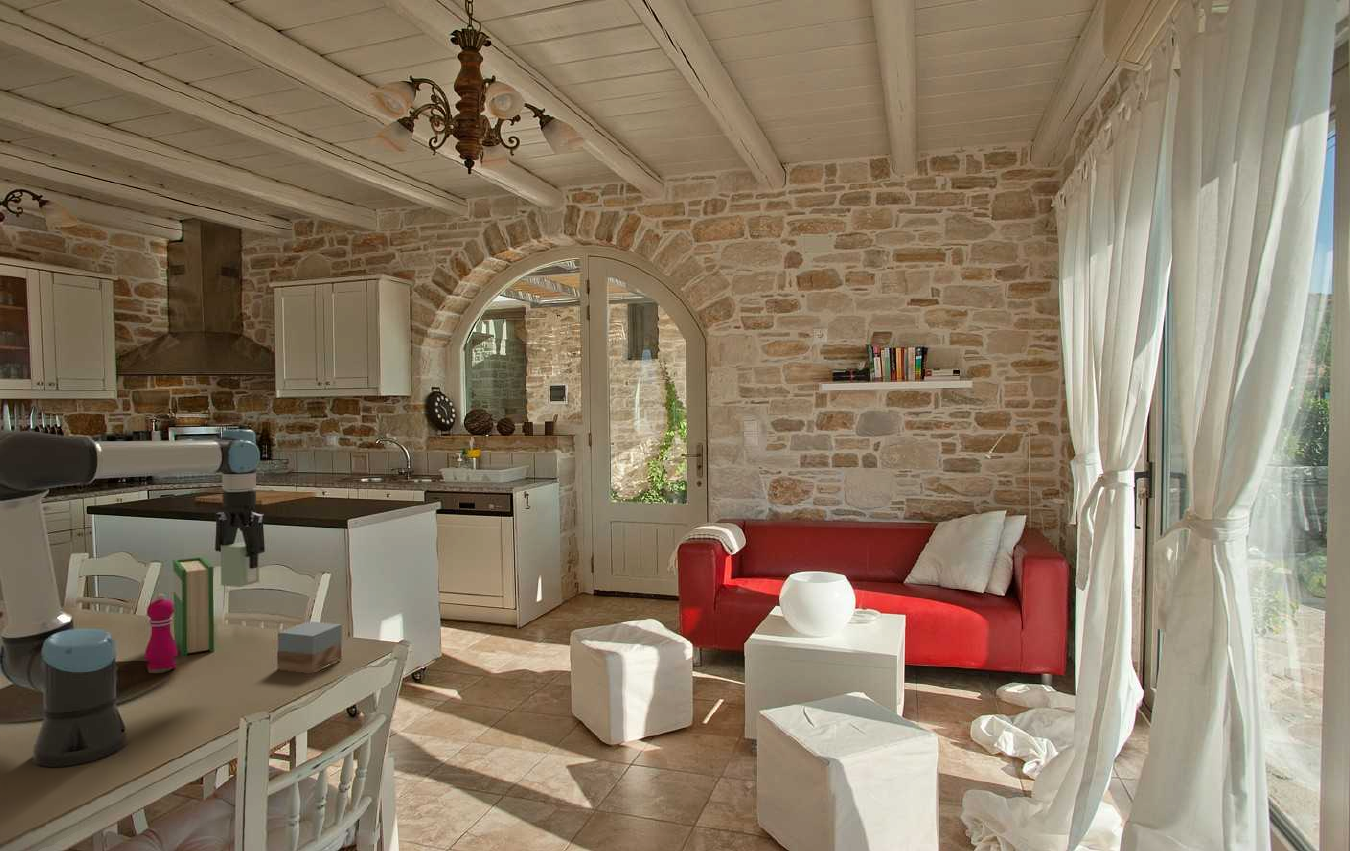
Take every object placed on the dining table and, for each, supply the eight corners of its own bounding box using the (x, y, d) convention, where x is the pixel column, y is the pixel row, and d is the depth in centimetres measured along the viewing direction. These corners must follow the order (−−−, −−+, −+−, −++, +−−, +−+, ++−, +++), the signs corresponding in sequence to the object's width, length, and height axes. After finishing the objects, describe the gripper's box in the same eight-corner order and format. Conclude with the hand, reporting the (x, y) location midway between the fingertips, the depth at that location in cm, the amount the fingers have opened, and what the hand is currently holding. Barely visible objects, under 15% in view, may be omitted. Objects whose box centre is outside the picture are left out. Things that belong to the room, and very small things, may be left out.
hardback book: (213, 651, 224) (212, 566, 223) (183, 657, 219) (181, 570, 218) (203, 637, 237) (202, 557, 237) (174, 641, 233) (173, 560, 232)
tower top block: (313, 655, 206) (312, 636, 206) (277, 651, 209) (277, 632, 209) (341, 642, 217) (341, 624, 217) (307, 639, 220) (307, 621, 220)
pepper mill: (161, 675, 204) (160, 598, 204) (137, 673, 206) (136, 596, 205) (184, 666, 211) (183, 591, 211) (161, 664, 213) (160, 590, 212)
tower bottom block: (312, 674, 206) (311, 655, 206) (277, 670, 209) (277, 651, 209) (341, 661, 217) (341, 643, 216) (307, 657, 220) (307, 639, 220)
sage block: (240, 587, 200) (239, 547, 200) (221, 585, 202) (220, 546, 202) (258, 581, 206) (258, 543, 206) (240, 580, 208) (239, 542, 208)
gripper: (280, 489, 204) (281, 579, 205) (221, 487, 210) (222, 574, 210) (257, 492, 197) (258, 585, 198) (197, 490, 202) (198, 580, 203)
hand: (240, 579), depth 204 cm, fingers closed on sage block, 6 cm apart
